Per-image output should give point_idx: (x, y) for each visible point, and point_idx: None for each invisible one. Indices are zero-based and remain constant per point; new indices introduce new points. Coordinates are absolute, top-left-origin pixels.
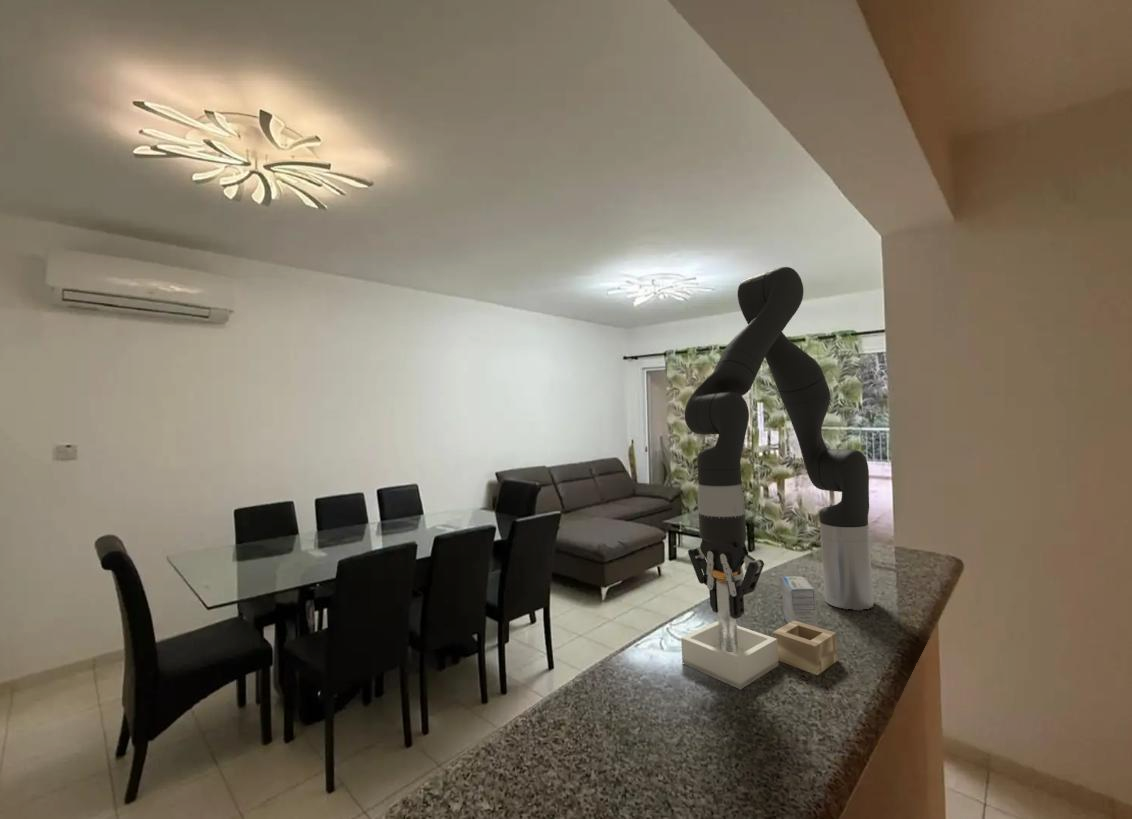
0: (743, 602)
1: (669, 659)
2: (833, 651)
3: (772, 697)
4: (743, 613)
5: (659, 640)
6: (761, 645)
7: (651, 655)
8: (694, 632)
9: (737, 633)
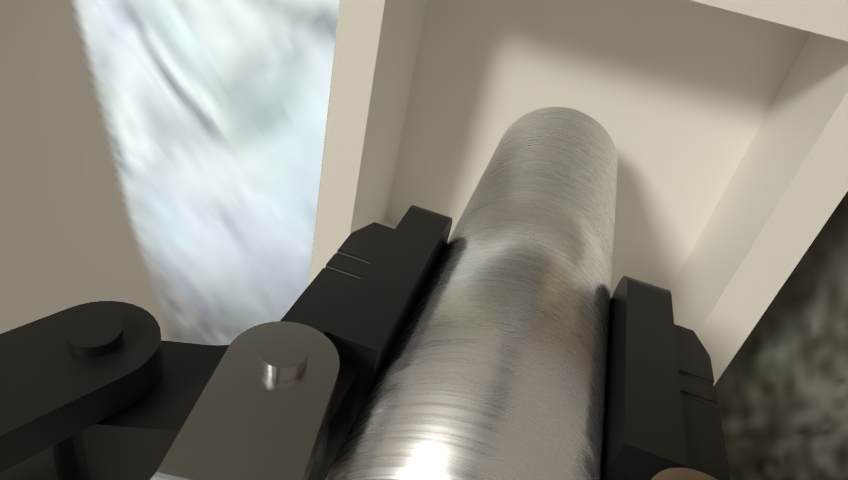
0: (719, 437)
1: (299, 212)
2: None
3: (837, 336)
4: (696, 337)
5: (143, 48)
6: (812, 199)
7: (223, 213)
8: (326, 200)
9: (613, 199)
